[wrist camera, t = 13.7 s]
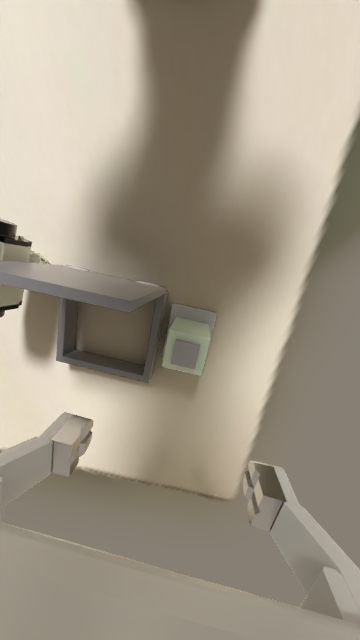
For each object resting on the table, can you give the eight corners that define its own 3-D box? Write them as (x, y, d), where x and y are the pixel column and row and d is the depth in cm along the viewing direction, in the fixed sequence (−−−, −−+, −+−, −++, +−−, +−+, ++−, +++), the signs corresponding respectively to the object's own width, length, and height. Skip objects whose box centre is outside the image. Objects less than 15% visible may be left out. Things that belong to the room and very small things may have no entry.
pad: (172, 303, 30) (172, 303, 29) (217, 312, 29) (217, 313, 29) (162, 356, 32) (161, 357, 31) (203, 365, 32) (203, 367, 31)
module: (176, 317, 30) (168, 330, 22) (208, 324, 30) (211, 340, 22) (169, 346, 31) (160, 369, 24) (200, 354, 31) (200, 378, 23)
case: (75, 264, 30) (-78, 251, 13) (169, 285, 29) (130, 298, 13) (68, 353, 33) (-59, 428, 17) (152, 373, 33) (105, 472, 16)
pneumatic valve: (19, 298, 32) (-83, 311, 20) (31, 226, 29) (-80, 194, 18) (50, 310, 32) (-35, 330, 20) (65, 239, 29) (-24, 216, 18)
